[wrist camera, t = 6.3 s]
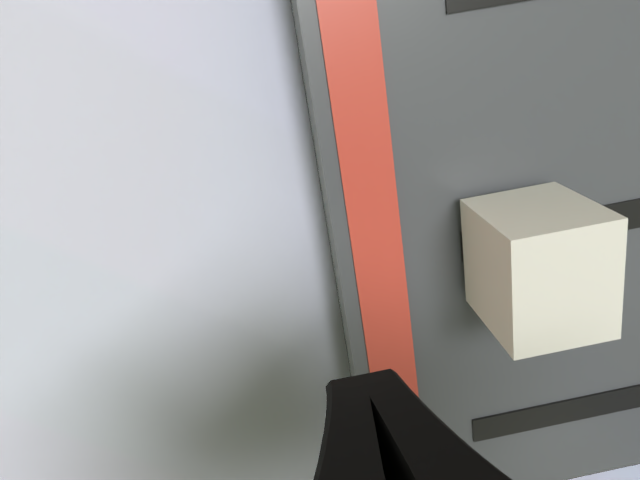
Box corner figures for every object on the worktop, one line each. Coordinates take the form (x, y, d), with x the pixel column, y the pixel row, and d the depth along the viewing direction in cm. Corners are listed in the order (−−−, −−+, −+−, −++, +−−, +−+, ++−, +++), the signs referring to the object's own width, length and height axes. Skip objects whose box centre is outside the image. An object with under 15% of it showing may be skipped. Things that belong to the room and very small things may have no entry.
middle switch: (553, 282, 18) (620, 338, 15) (465, 300, 18) (513, 360, 15) (555, 181, 17) (627, 218, 13) (460, 199, 16) (510, 240, 13)
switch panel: (785, 392, 24) (831, 424, 22) (368, 481, 23) (378, 522, 21) (907, -213, 16) (997, -247, 14) (272, -115, 15) (275, -137, 13)
